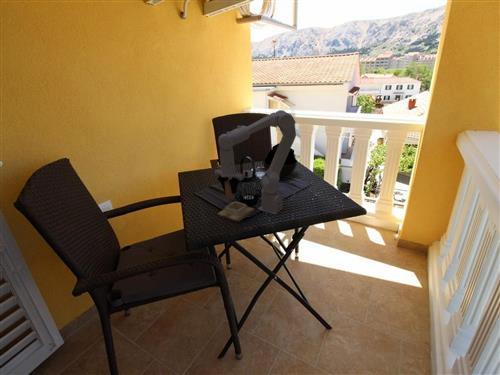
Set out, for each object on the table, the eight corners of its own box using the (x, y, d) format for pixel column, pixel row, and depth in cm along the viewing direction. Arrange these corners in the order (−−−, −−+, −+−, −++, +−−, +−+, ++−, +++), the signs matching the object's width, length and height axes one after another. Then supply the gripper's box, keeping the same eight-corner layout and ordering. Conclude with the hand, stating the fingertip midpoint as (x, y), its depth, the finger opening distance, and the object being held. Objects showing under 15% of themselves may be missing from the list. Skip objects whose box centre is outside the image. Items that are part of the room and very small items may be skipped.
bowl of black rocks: (290, 184, 147) (291, 152, 139) (258, 180, 155) (256, 149, 148) (300, 172, 163) (301, 143, 156) (270, 169, 172) (270, 140, 164)
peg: (236, 197, 118) (235, 181, 115) (230, 201, 115) (229, 184, 112) (230, 195, 120) (228, 179, 117) (224, 198, 117) (222, 182, 114)
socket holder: (254, 210, 122) (254, 203, 120) (238, 221, 113) (238, 215, 111) (234, 204, 128) (233, 198, 127) (217, 214, 119) (217, 208, 118)
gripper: (208, 163, 112) (212, 192, 118) (235, 168, 104) (237, 199, 110) (219, 158, 117) (222, 186, 123) (245, 163, 109) (247, 192, 115)
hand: (230, 192), depth 117 cm, fingers closed on peg, 4 cm apart
